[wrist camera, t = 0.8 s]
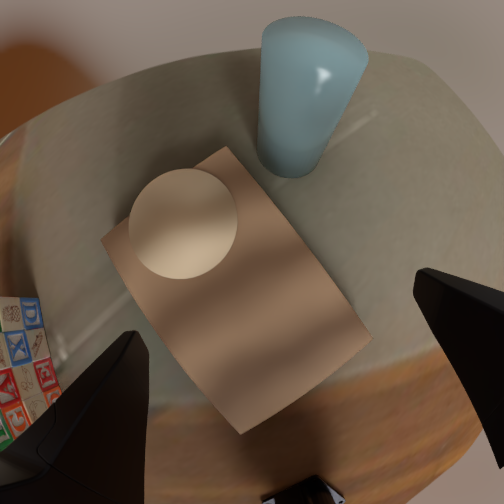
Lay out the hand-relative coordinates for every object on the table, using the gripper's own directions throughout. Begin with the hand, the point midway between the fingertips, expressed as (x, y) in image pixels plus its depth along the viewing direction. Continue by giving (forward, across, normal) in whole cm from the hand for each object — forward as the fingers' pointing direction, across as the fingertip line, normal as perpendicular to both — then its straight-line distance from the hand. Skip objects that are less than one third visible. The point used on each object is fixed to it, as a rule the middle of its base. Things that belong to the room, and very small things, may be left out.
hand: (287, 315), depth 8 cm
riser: (+12, +2, +7) cm, 14 cm away
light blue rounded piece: (+18, -5, -3) cm, 19 cm away
